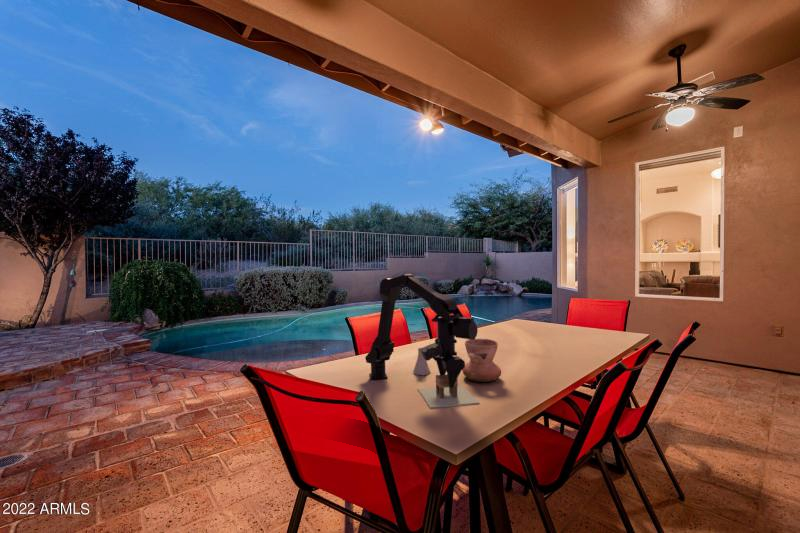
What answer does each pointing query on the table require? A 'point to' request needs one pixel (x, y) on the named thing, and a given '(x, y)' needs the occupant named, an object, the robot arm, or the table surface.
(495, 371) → the ceramic jug
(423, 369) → the flask
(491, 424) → the table surface
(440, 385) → the walnut stool
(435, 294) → the robot arm
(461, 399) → the sage mat
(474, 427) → the table surface
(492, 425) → the table surface
